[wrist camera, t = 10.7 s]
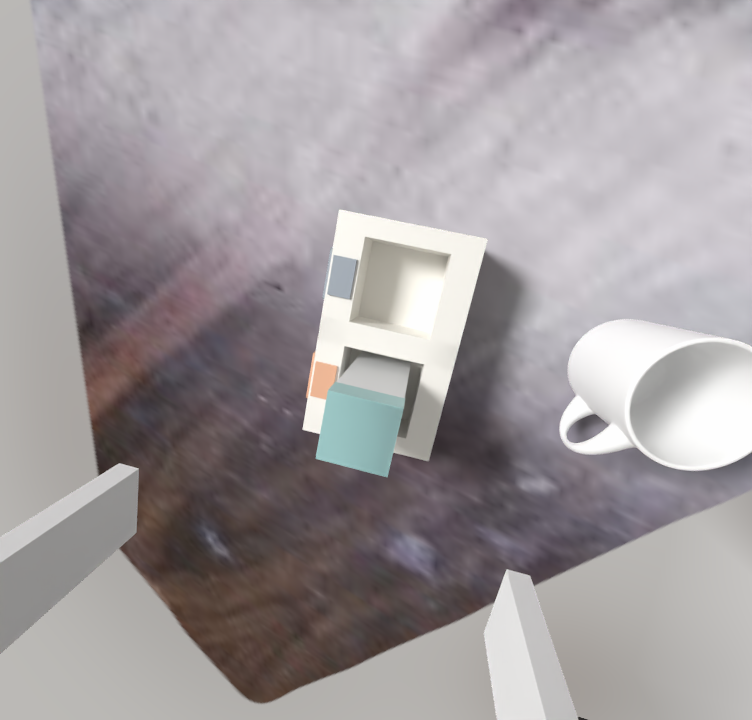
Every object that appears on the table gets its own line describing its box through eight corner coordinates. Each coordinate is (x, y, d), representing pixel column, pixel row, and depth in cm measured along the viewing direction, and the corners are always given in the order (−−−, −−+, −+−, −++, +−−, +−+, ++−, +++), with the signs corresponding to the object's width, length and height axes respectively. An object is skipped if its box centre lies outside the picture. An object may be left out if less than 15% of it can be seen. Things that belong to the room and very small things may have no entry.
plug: (362, 350, 33) (327, 390, 22) (411, 361, 33) (403, 408, 21) (353, 397, 35) (315, 458, 23) (400, 408, 34) (387, 476, 23)
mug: (513, 385, 34) (550, 432, 24) (628, 296, 31) (727, 306, 21) (572, 450, 35) (634, 524, 25) (690, 369, 32) (816, 414, 22)
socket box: (351, 220, 33) (334, 208, 27) (476, 245, 32) (488, 238, 26) (319, 404, 37) (298, 429, 31) (428, 431, 36) (428, 462, 30)
